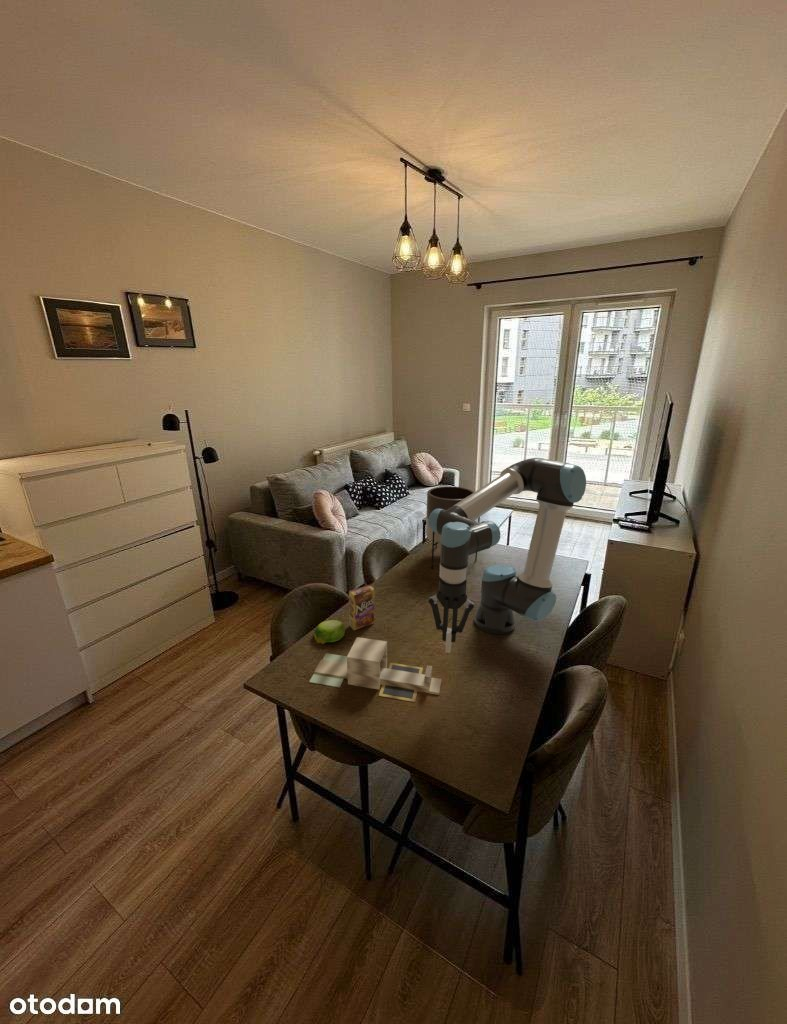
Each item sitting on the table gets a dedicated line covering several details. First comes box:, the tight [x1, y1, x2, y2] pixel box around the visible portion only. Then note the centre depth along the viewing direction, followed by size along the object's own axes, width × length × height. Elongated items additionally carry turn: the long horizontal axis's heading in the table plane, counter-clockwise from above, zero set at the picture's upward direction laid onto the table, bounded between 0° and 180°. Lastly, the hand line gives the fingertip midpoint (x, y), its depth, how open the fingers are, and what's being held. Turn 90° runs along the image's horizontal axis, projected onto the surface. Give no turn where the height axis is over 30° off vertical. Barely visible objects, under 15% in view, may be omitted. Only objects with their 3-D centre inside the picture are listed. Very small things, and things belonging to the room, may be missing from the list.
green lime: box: [313, 619, 346, 645], centre depth 151 cm, size 12×11×5 cm
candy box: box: [348, 584, 375, 631], centre depth 156 cm, size 9×4×15 cm, turn 123°
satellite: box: [308, 637, 442, 703], centre depth 130 cm, size 40×15×10 cm, turn 77°
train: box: [380, 665, 433, 690], centre depth 129 cm, size 24×6×7 cm, turn 77°
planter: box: [425, 485, 481, 569], centre depth 206 cm, size 26×25×35 cm
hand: (448, 649), depth 122 cm, fingers closed
